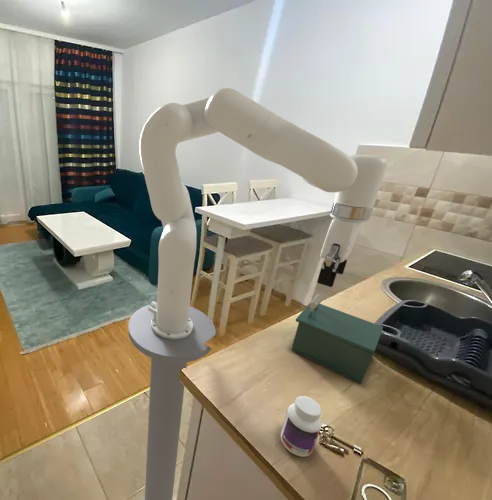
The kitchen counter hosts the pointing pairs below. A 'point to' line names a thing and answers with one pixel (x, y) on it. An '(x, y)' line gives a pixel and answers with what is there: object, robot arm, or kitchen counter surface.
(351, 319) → the box lid
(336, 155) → the robot arm
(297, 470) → the kitchen counter surface
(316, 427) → the pill bottle
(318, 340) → the green open box
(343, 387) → the kitchen counter surface
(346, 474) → the kitchen counter surface
